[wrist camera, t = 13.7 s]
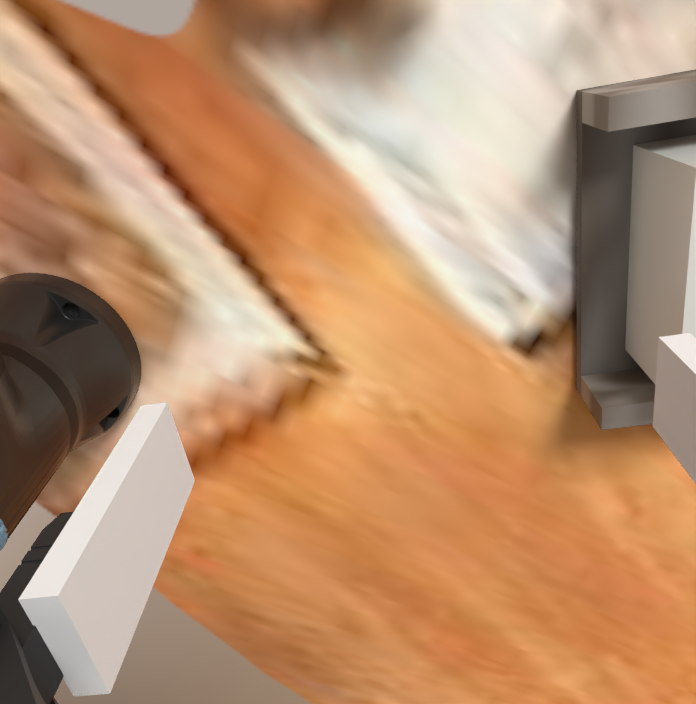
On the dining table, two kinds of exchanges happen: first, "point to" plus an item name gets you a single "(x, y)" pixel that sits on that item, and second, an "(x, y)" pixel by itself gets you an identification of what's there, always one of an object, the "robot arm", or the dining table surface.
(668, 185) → the light grey block
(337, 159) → the dining table surface
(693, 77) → the cradle rack
